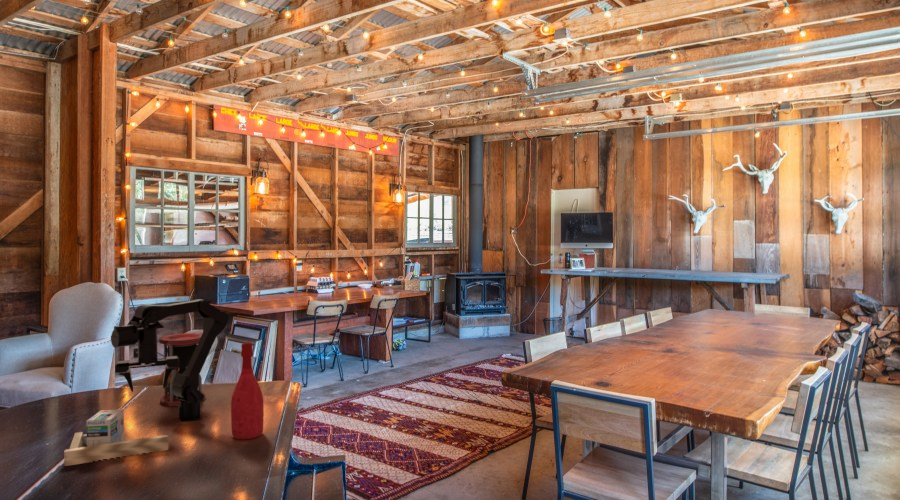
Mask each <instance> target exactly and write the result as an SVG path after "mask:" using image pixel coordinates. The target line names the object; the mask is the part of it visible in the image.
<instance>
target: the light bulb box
mask: <svg viewBox="0 0 900 500" xmlns="http://www.w3.org/2000/svg"><path fill="white" fill-rule="evenodd" d="M124 411H125V410H124V409H104V410H103V409H101V410H100V411H98V412H97V413H95V414H94V415H93V416H91V417H90V418H88V419H87V420H86V434H87V445H86V447H87V446H93V445H100V444H107V443H114V442H121V441H125V413H124Z"/></svg>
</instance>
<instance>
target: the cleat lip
mask: <svg viewBox="0 0 900 500" xmlns="http://www.w3.org/2000/svg"><path fill="white" fill-rule="evenodd" d="M86 446H87V433H85V434H83V446H82V447H86Z"/></svg>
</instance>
